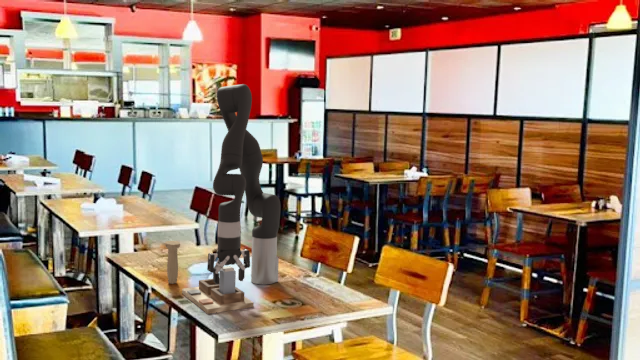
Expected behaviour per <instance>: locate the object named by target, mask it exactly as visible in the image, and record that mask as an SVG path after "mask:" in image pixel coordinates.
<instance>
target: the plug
mask: <svg viewBox="0 0 640 360" xmlns="http://www.w3.org/2000/svg"><path fill="white" fill-rule="evenodd" d="M236 273H237V272H236V270H235V268H234V267H233V266H231V265H230V266H229V265H226V266H224V267H223V268H221V270H220V271H219V292H220V293H221V294H229V293H235V287H236V279H237V278H236Z"/></svg>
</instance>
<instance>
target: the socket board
mask: <svg viewBox="0 0 640 360" xmlns="http://www.w3.org/2000/svg"><path fill="white" fill-rule="evenodd" d="M181 294H182V295H183V296H185V297H186V298H187V299H189V300H190V301H191V302H193V304H195V305H196V306H197V307H199V309H201V310H202V311H203V312H205V313H206V314H207V315H209V314H216V312H217V313H221V312H228V311H235V310H242V309H247V308H254V303H255V302H253V301H252V300H251V299H249V298H248V297H246V296H245V292H244V291H243V290H241V289H240V288H238V287H237V286H235V293H229V294H221V293H220V292H219V284H218V285H217V284H215V283H214V282H213V278H206V279H199V280H198V286H194V287H186V288H185V287H184V288H182V289H181Z"/></svg>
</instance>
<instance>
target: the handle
mask: <svg viewBox="0 0 640 360" xmlns="http://www.w3.org/2000/svg"><path fill="white" fill-rule="evenodd" d="M164 244H165V248H166V249H167V264H166V269H167V270H166V274H167V283H168V284H170V285H171V284H172V285H174V284H177V282H178V276H179V260H178V259H179V258H178V249H179V248H181V242H180V241H177V240H166V241H165V243H164Z"/></svg>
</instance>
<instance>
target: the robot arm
mask: <svg viewBox="0 0 640 360" xmlns="http://www.w3.org/2000/svg"><path fill="white" fill-rule="evenodd" d="M216 102H217V105H218V108H219V111H220V114H221V116H222V119H223V121H224V124H225V126H226V129H227V132H226V134H225V136H224V138H223V140H222V143H221V153H220V162H219V166H218V168H217V171H216V173H215V176H214V179H213V182H212V189H213V191H214V193H215V194H216V195H218V196H234V197H233V199H232V200H229V201H224V202H221V203H219V205H218V224H217V252H216V253H211V252H209V253H208V255H207V267H206V269H207V271H208V272H210V273H211V274H212V279H213V282H214V283H215V284H217V285H218V284H219V277H220V270H221V268H223V267H225V266H229V265H230V266H231V265H234V266H235V265H236V266H237V267H238V272H237V273H238V275H237V276H238V277H237V278H238V281H240V282H243V281H244V279H245V271H246V269H248V268H250V267H251V270H250V271H251V273H250V274H251V275H250V281H251V283H253V284H256V285H272V284H275V283H277V282H279V260H280V259H279V256H277V255H278V253H277V251H278V250H277V249H278V245H277V244H278V232H279V229H280V221H281V220H280V219H281V210H282V209H281V207H282V205H281V201H280V200H281V199H280V198H279V197H278V196H277V195H276V194H271V193H268V192H267V193H266V192H263V189H262V187H261V182H260V175H261V171H262V168H263V163H264V158H263V154H262V151H261V146H260V144H259V141H258V140H257V138H256V137H255V136H254V135H253V134H252V133H250V132H249V130H247V127H248V123H249V119H250V114H251V111H252V110H251V109H252V105H253V104H252V102H253V96H252V91H251V89H250V87H249V86H248V85H247V84H245V83H242V84H233V85H227V86H226V85H225V86H221V87H219V88H218V89H217V91H216ZM236 113H237V114H236ZM238 169H239V172H240V173H228V172H230V171H234V170H238ZM244 194H245V198H246V199H245V200H246V204H247V208H248V211H249V213H250V214H251V215H252V216H254V217H255V218H261V224H260V225H259V226H255V227H253V229H252V231H251V251H250V250H249V249H246V248H244V249H242V250H241V247H242V246H241V244H242V243H241V241H242V226H241V207H242V200H243V197H244ZM250 252H251V254H250ZM241 256H242V257H243V262H242V261H241V259H240V257H241ZM216 259H217V261H216ZM215 261H216V263H215Z"/></svg>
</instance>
